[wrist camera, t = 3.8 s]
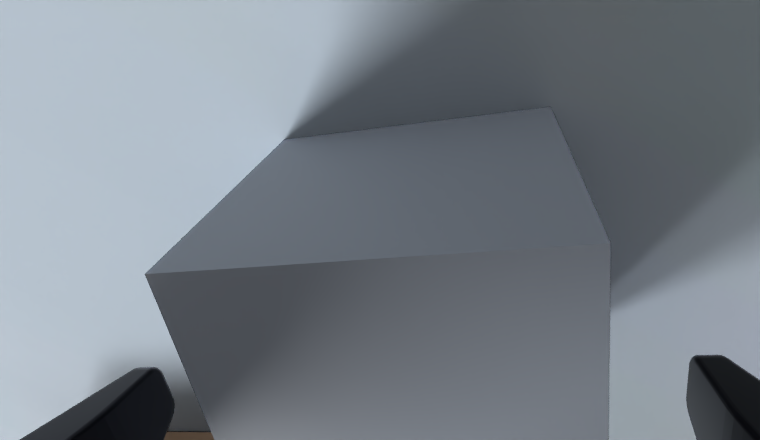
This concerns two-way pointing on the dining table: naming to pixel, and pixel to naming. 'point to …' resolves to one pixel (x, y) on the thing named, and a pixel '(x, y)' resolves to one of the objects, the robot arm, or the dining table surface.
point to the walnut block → (188, 436)
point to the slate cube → (399, 289)
